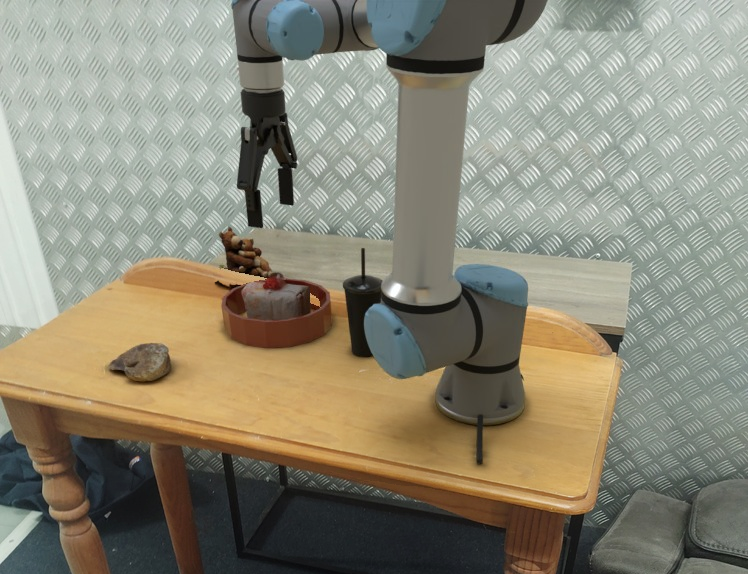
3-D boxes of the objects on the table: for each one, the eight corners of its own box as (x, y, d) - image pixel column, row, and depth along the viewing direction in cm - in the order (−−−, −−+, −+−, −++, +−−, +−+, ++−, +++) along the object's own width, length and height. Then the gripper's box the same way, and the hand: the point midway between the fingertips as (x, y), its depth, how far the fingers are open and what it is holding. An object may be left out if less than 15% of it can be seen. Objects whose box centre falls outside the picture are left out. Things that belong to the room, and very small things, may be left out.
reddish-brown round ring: (309, 353, 138) (307, 327, 135) (206, 339, 143) (202, 314, 140) (345, 309, 155) (344, 284, 151) (252, 297, 160) (249, 273, 156)
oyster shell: (147, 351, 140) (141, 327, 137) (185, 371, 133) (180, 346, 130) (103, 368, 134) (97, 344, 131) (141, 390, 128) (135, 365, 125)
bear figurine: (254, 297, 160) (248, 242, 153) (205, 283, 166) (196, 230, 159) (291, 278, 169) (287, 225, 162) (243, 265, 175) (237, 214, 168)
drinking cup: (379, 362, 135) (379, 257, 123) (340, 358, 137) (336, 254, 124) (387, 344, 141) (388, 242, 129) (349, 341, 143) (347, 240, 130)
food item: (240, 328, 147) (234, 282, 141) (255, 313, 154) (250, 267, 147) (303, 335, 145) (299, 288, 139) (315, 319, 151) (312, 273, 145)
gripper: (274, 74, 132) (281, 193, 146) (206, 100, 114) (222, 234, 128) (311, 77, 130) (315, 198, 144) (248, 105, 112) (260, 239, 126)
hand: (271, 215), depth 136 cm, fingers open, 13 cm apart
